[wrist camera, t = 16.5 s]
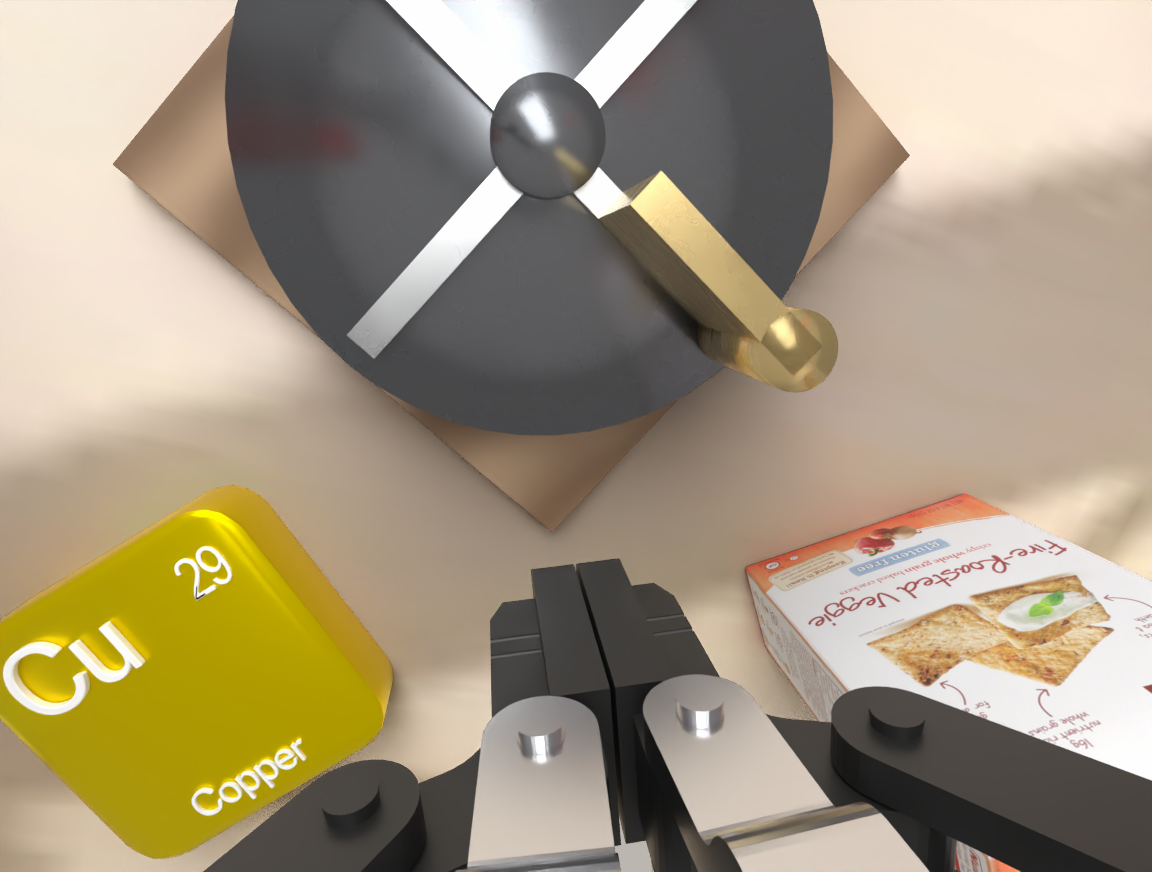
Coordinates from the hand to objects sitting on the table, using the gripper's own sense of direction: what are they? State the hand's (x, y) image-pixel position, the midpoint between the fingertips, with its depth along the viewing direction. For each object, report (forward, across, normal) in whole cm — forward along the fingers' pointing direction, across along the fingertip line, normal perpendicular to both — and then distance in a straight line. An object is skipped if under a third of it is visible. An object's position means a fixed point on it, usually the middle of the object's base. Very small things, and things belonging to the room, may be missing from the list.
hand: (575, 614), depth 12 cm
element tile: (+26, +18, +14) cm, 34 cm away
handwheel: (+20, -2, -10) cm, 22 cm away
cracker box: (+25, -19, +13) cm, 34 cm away
